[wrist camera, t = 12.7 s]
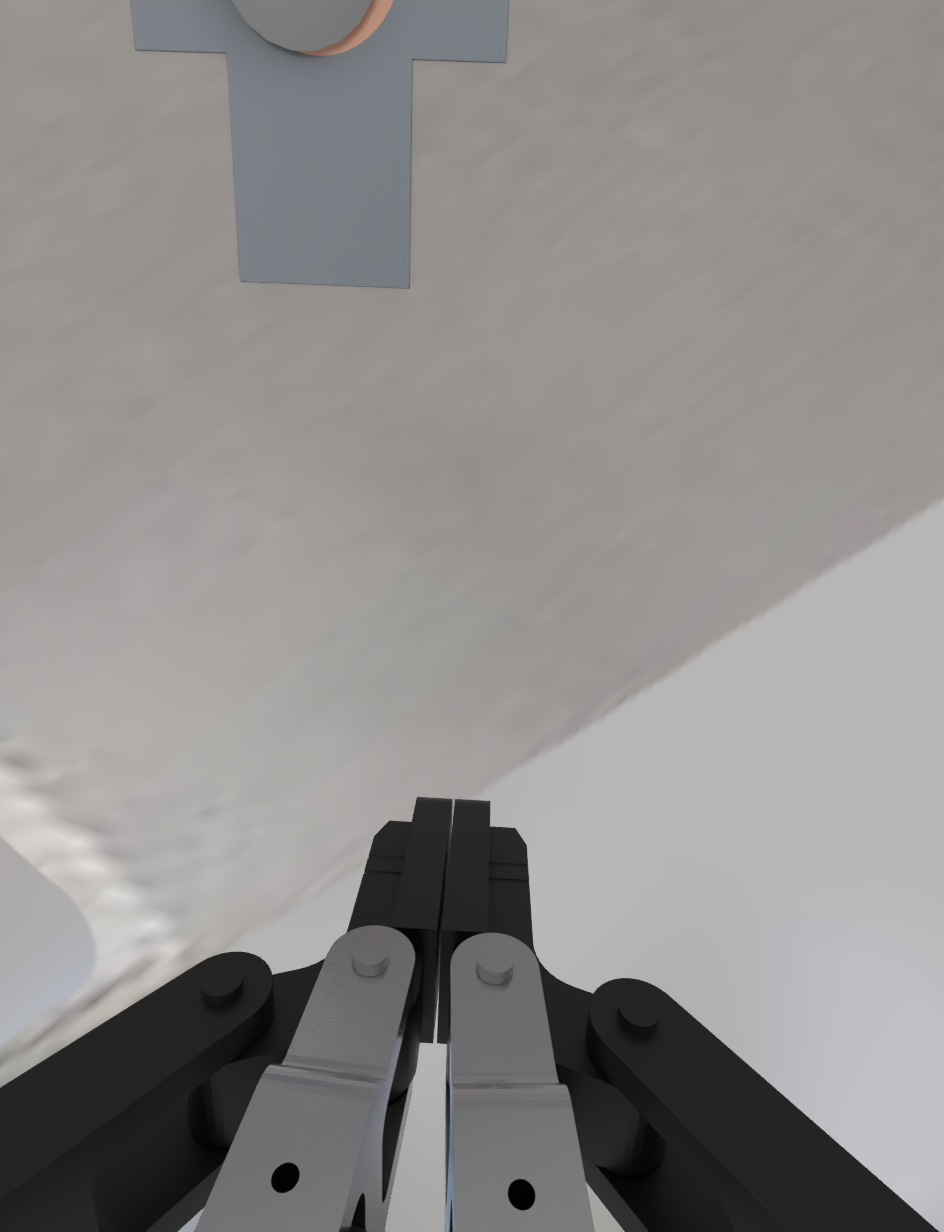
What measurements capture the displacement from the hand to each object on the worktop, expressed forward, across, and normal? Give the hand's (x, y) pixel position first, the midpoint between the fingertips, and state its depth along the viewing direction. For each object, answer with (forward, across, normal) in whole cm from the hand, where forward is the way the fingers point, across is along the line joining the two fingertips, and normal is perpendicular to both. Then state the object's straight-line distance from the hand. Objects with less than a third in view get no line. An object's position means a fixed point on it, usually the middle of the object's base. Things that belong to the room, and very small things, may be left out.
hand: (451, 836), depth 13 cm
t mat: (+27, +9, -23) cm, 37 cm away
